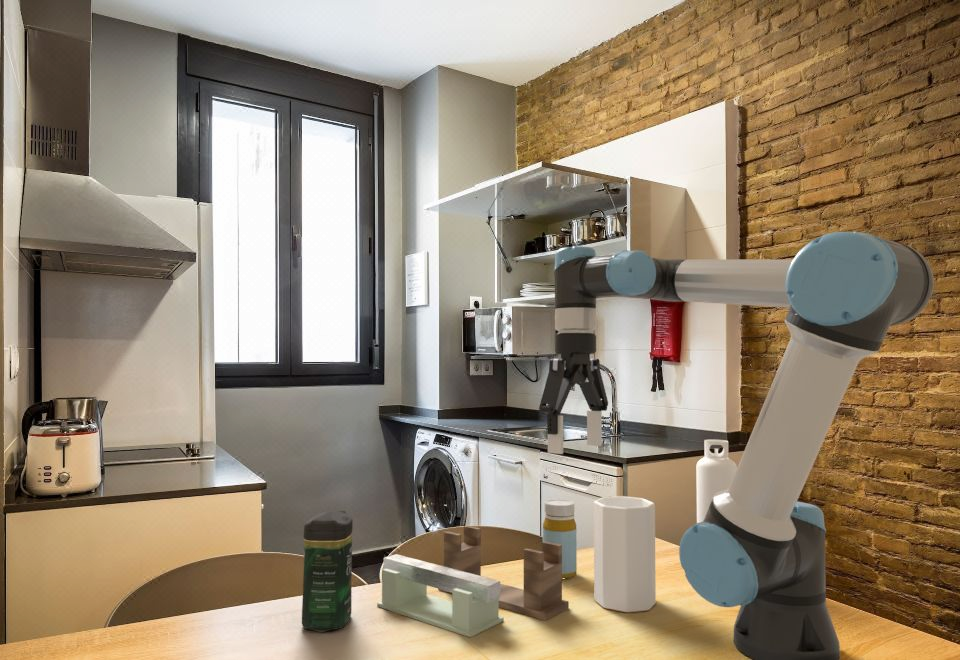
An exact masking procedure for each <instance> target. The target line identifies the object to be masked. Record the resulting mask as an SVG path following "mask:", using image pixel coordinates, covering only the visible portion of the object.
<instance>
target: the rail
mask: <svg viewBox="0 0 960 660" xmlns="http://www.w3.org/2000/svg"><path fill="white" fill-rule="evenodd" d="M383 569H390V570H394V571H397V572H400V578H403V579H406V580H410V581H413V582H416V583H420V584H423V585H427V587H431V588H433V589H441V590H444V591H443V592H445V591H448V592H451V593H450V594H452V590H453V589H455V588H458V589H461V590H465V591H468V592H472V593H473V599H476V600H479V601H482V602H486V603H490V602H492V601H495V600H497V599H499V598H500V584H501V581H500V580H499V579H498V580H497V579H493V578H489V577H485V576H482V575H481V576H479V575H475V574H471V573H467V572H463V571H459V570H456V569H452V568H448V567H444V565H440V564H436V563H433V562H428V561H424V560H421V559H416V558H413V557H409V556H405V555H401V554H395V553H394V554H392V555H389V556H385V557H383ZM441 590H440V591H441ZM448 592H447V593H448Z"/></svg>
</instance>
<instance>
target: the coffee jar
mask: <svg viewBox="0 0 960 660" xmlns="http://www.w3.org/2000/svg"><path fill="white" fill-rule="evenodd" d="M353 521H354V520H353V517H352V516H351V515H350V514H349V513H347V511H345V510H329V509H327V510H322V512H320V513H317V514H316V515H313V516H312V517H310V518H309V519H308V520H307V521H306V522H305V523H304V526H303V576H302V577H303V578H302V579H303V581H302V606H301V607H302V608H301V625H302V627H303V629H307V630H311V631H314V632H322V633H323V632H328V631H331V630H337V629H338V630H339V629H342V628H344V626H345V625H346V624H347V623H348V622H349V620H350V618H351V616H352V575H353V573H352V571H353V570H352V569H353V563H352V562H353V533H354V532H353V530H354V528H353V524H354V523H353Z"/></svg>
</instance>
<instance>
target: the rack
mask: <svg viewBox="0 0 960 660" xmlns="http://www.w3.org/2000/svg"><path fill="white" fill-rule="evenodd" d="M481 540H482V528H481V527H476V526H470V525H465V526H463V542H462V534H461V533H457V532H452V531H444V532H443V566H444V567H448V568H452V569H456V570H459V571H463V572H467V573H471V574H475V575H479V576H482V568H481V566H482V565H481V563H482V556H481V555H482V552H481V551H482V541H481ZM541 543H542V544H541V545H542V548H541V549H542V551H541V550H536V549H531V548H524V549H523V588H519V587H515V586H512V585H508V584H504V583H500V598H499V608H501V609H505V610H508V611H511V612H515V613H518V614H522V615H525V616H529V617H531V618H535V619H538V620H543V621H547V620H549V619H551V618H553V617H554V616H556V615H559V614H560V613H562V612H564V611H566V610H568V609H569V608H570V607H569V605H570V604H569V600H565V599H563V579H562V545H560V544H556V543H551V542H546V541H545V542H543V541H542V542H541ZM438 590H439V591H441V592H442V591H443V592H446V593H448V594H452V593H451V592H448V591H444V590H441V589H438Z"/></svg>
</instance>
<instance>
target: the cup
mask: <svg viewBox="0 0 960 660" xmlns="http://www.w3.org/2000/svg"><path fill="white" fill-rule="evenodd" d="M655 505H656V504H655V503H654V502H653V501H650V500H648V499H645V498H643V497H635V496H625V495H616V496H615V495H613V496H602V497H600V498H598V499H595V500H594V501H593V556H594V557H593V564H594V565H593V570H594V571H593V584H594V585H593V588H594V591H593V592H594V593H593V594H594V595H593V596H594V597H593V599H594V601H595V602H596V603H598V604H599V605H600V606H601V607H602V608H604V609H606V610H611V611H616V612H620V613H621V612H622V613H626V614H627V613H629V614H630V613H641V612H648V611H650V610H651V608H653V606H655V605H656V603H657V600H656V598H657V597H656V595H657V593H656V506H655Z"/></svg>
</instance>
